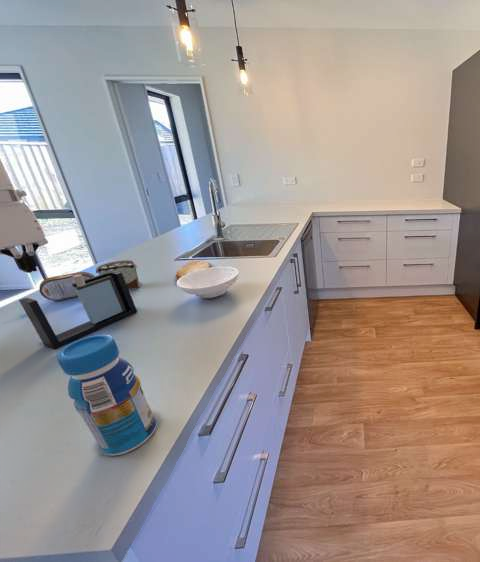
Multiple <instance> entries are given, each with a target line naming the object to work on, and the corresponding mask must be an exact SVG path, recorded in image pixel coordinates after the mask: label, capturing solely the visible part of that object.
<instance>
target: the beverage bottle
mask: <svg viewBox="0 0 480 562" xmlns="http://www.w3.org/2000/svg"><path fill="white" fill-rule="evenodd" d="M56 360H57V363H58V364H59V366H60V368H61V370H62V372H63V373H64V374H65V375H66V376H68V377H69V379H68V383H67V384H68V385H67V394H68V397H69V398H70V399H72V400H74V401H73V406H74V408H75V411H76V412H77V413H78V414H79V415H80V417H81V418H82V420H83V422H84V423H85V425H86V426H87V428H88V430H89V432H90V433H91V435H92V436H93V438H94V440H95V441H96V444H97V446H98V447H99V449H100V451H101V452H102V453H103V454H104V455H106V456H121V455H125V454H127V453H129V452H132V451H134V450H136V449H137V448H139V447H140V446H142V445H143V444H144V443H146V442H147V441H148V439H150V438H151V437H152V436H153V434H154V433H155V431H156V429H157V424H158V423H157V419H156V417H155V415H154V413H153V411H152V409H151V407H150V404H149V402H148V399H147V397H146V394H145V392H144V390H143V388H142V385H141V381H140V378H139V377H138V375H137V374H136V373H135V372H134V371H135V370H134V367H133V366H132V364H131V363H130V362H129V361H127V360H125V359H124V358H122V357H120V350H119V348H118V344H117V343H116V341H115V339H114V337H113V336H111V335H109V334H96V335H95V334H94V335H90V336H87V337H86V336H85V337H82V338H79V339H77V340H75V341H73V342H70V343H68V344H66V345H65V346H64V347H63V348H61V349H60V350H59V351H58V352H57V354H56Z"/></svg>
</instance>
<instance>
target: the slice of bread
mask: <svg viewBox="0 0 480 562" xmlns="http://www.w3.org/2000/svg"><path fill="white" fill-rule="evenodd" d="M211 267H212V266H211V264H210V263H209V262H208V261H204V260H190V261H188V262H187V263H185V264H183V265H181V266H180V267H179V269H178V270H177V271H176V274H175V278H176V281H178V280H179V279H180V278H181V277H182V276H184V275H186V274H188V273H191V272H194V271H197V270H201V269H205V268H211Z"/></svg>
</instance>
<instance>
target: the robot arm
mask: <svg viewBox="0 0 480 562" xmlns="http://www.w3.org/2000/svg"><path fill="white" fill-rule="evenodd" d="M26 196H28V195H27V192H26V191H25V190H19V189H18V188H16V186H15V185H14V182H13V180H12V178H11V176H10V173H9V171H8V168H7V166H6V164H5V162H4V159H3V157H2V155H1V154H0V255H4V256H7V257H10V258H13V260H14V262H15V264H16V266H17V268H18V270H19V271H22V272H24V273H28V274H31V273H32V272H38V269H37V267H38V266H39V265H38V263H37V260H36V258H35V257H34V256H35V253H36V251H37V250H38V249H39V248H40V247H42V246H45V245H48V244H49V241H48V239H47V238H46V235H45V232H44V230H43V227H42V226H41V223H40V222H39V220H38V218H37V217H36V214H35V213H34V212H33V210H32V208H30V206H29V205H28V203H26V201H22V200H23V199H22V198H23V197H26ZM18 246H20V248H21V252H20V251H19V250H18V248H17V247H18Z"/></svg>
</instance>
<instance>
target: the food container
mask: <svg viewBox="0 0 480 562" xmlns="http://www.w3.org/2000/svg"><path fill="white" fill-rule="evenodd" d="M137 269H138V265H137V263H136V262H135V261H134V260H130V259H124V260H123V259H122V260H117V261H115V260H114V261H110V262H107V263H103V264H101V265H98V266H96V267H95V274H98V275H101V274H104V273H106V272H108V271H111V270H112V271H117V272H122V275H123V277H124V280H125V282H126V285H127V287H128V290H129V291H130V290H136V289H141V285H140V281H139V275H138V271H137Z"/></svg>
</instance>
